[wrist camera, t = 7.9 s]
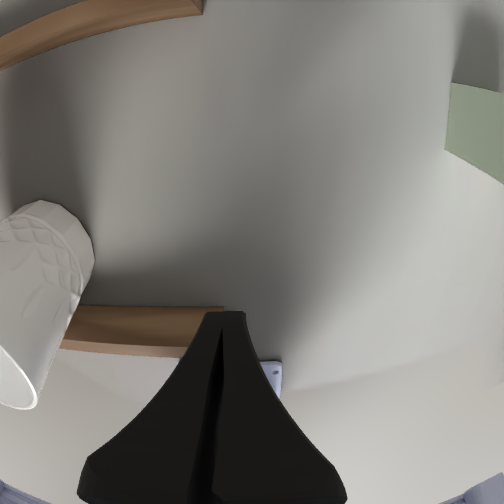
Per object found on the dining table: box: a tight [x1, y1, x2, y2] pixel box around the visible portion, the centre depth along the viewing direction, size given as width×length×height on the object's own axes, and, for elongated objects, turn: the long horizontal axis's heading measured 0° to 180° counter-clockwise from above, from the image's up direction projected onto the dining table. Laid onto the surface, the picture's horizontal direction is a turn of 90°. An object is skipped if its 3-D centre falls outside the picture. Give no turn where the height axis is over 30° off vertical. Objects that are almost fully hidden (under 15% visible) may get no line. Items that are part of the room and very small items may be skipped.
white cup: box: [0, 200, 95, 410], centre depth 14 cm, size 8×8×10 cm
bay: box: [0, 0, 224, 358], centre depth 14 cm, size 19×19×4 cm
